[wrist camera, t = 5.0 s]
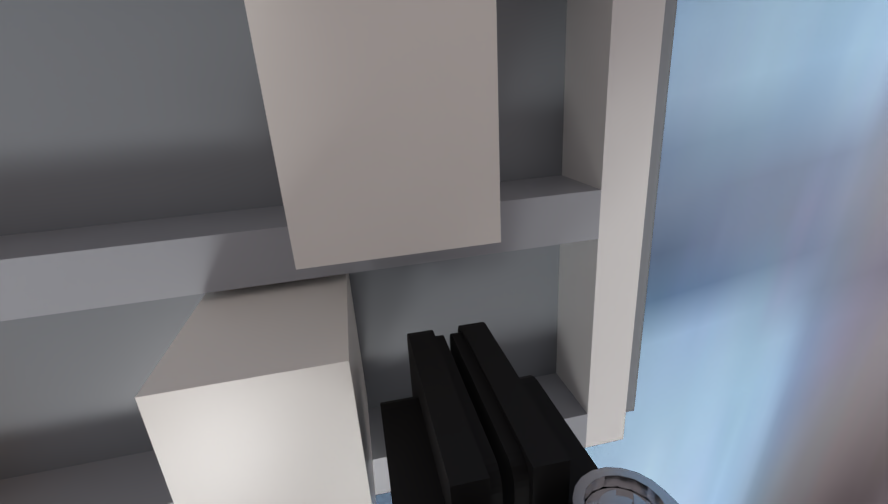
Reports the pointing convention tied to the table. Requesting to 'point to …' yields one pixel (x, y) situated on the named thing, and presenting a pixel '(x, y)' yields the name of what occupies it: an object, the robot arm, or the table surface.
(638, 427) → the table surface
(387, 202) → the tab
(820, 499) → the table surface
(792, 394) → the table surface
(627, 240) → the switch board
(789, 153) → the table surface
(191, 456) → the tab
